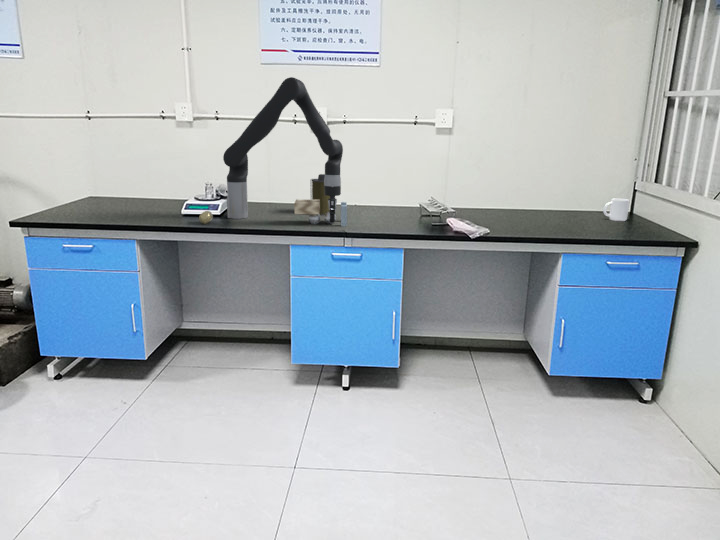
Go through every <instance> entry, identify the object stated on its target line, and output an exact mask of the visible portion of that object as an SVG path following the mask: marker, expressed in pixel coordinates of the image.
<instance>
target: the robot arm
mask: <svg viewBox="0 0 720 540" xmlns="http://www.w3.org/2000/svg"><path fill="white" fill-rule="evenodd" d="M292 101H294V103H295V104H296V105H297V106H298V107H299V109H300V110H301V112H302V113H303V115H304V118H305V120H306V123H307V124H308V127H309V128H310V129H311V131H312V132H313V134H314V136H315V137H316V139H317V142H318V145H319V147H320V149H321V150H322V152H323V153H324V155H326V156H328V158H327V160H326V162H325V164H324V174H325V178H324V194H325V195H327V196H330V199H328V204H329V210H330V212H329V214H330V222H331V223H333V224H334V223H335V222H336V220H335V215H336V210H337V203H338V202H337V200H338V199H337V198H336V197H337V196H341V194H342V193H341V189H342V181H341V179H342V178H341V163H342V159H343V158H342V157H343V153H344V148H343V147H344V146H343V143H342V142H341V141H340V140H338V139H333V137H332V136H331V129H330V128H329V126H328V124H327V123H326V121H325V120H324V118H323V117H322V115H321V114H320V112H319V111H318V109H317V107H316V106H315V104H314V102H313V100H312V98H311V96H310V94H309V92H308V89H307V88H306V84H304V82H303V81H302V80H301V79H298V78H296V77H293V76H292V77H291V76H290V77H287V78H286V79H284V80H283V81H282V83H281V84H280V86H279V87H278V88H277V90H276V92H275V93H274V95H273V96H272V97H271V99H270V100H269V101H267V103H266V104H265V105H264V107H263V108H262V109H261V110H260V111H259V112H258V113H257V114H256V115H255V117H254V118H253V119H252V121H250V123H249V124H248V125H247V127H246V128H245V129H244V131H243V132H242V133H241V135H240V136H239V137H238V138H237V139H236V140H235V141H234V142H233V143H232V144H231V145H230V146H229V147H228V148H227V149H225V151H224V153H223V162H224V164H225V165H226V166H227V167H228V168H229V171H228V173H227V175H226V187H227V188H226V189H227V190H226V191H227V198H226V207H227V209H226V212H227V213H226V214H227V219H235V220H237V219H238V220H239V219H240V220H241V219H247V218H249V211H248V210H249V207H248V202H249V201H248V182H247V181H248V175H249V157H248V153H249V152H250V150H251V149H252V148H253V147H255V146H256V145H257V144H259V143H260V142H261V141H262V140H264V139H265V138H266V137H267V136H268V135H269V134H270V133H271V132H272V131H273V130H274V129H275V127H276V125H277V124H278V122H279V120H280V119H279V118H280V117H281V114H282V112H283V110H284V109H285V108H286V107H287V106H288V105H289V104H290V103H291V102H292Z"/></svg>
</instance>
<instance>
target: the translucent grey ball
mask: <svg viewBox="0 0 720 540" xmlns="http://www.w3.org/2000/svg"><path fill="white" fill-rule="evenodd" d="M308 220H309V221H308V222H309V223H310V224H311V225H318V224H319V223H320V221H321V215H320V214H309V216H308Z"/></svg>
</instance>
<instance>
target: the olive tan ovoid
mask: <svg viewBox="0 0 720 540" xmlns="http://www.w3.org/2000/svg"><path fill="white" fill-rule="evenodd" d="M213 218H214V215H213V213H212V212H211V211H209V210H205V211H203V212H202V213H200V214H199V217H198V220H199V222H200V223H201V224H204V225H205V224H208V223H209V222H210V221H212V220H213Z"/></svg>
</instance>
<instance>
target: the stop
mask: <svg viewBox="0 0 720 540" xmlns="http://www.w3.org/2000/svg"><path fill="white" fill-rule="evenodd" d="M340 222H341V224H340V226H341V227H347V226H348V224H347V223H348V205H347V201H340Z"/></svg>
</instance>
